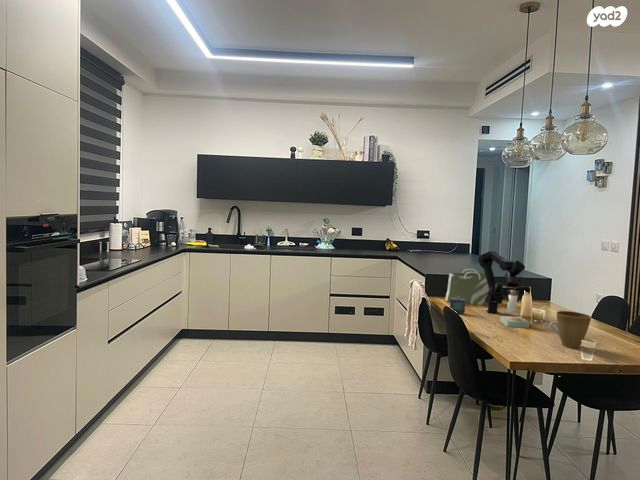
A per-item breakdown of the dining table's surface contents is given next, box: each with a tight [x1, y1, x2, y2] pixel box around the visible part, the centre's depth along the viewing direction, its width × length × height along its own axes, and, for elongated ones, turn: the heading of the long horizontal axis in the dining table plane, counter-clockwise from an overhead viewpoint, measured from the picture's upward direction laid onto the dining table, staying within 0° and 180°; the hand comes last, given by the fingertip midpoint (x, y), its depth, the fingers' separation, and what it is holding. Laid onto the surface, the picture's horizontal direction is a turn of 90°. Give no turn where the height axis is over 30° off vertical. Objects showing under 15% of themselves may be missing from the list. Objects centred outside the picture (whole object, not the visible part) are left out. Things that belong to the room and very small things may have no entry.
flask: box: [449, 296, 466, 315], centre depth 283 cm, size 9×3×11 cm, turn 87°
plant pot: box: [556, 310, 592, 349], centre depth 225 cm, size 15×15×16 cm
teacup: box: [549, 321, 560, 337], centre depth 241 cm, size 14×11×8 cm
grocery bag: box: [444, 268, 489, 307], centre depth 318 cm, size 32×14×23 cm, turn 80°
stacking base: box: [499, 315, 531, 329], centre depth 263 cm, size 12×12×3 cm
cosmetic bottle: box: [506, 290, 518, 314], centre depth 262 cm, size 5×5×13 cm
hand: (512, 301), depth 261 cm, fingers closed on cosmetic bottle, 5 cm apart
